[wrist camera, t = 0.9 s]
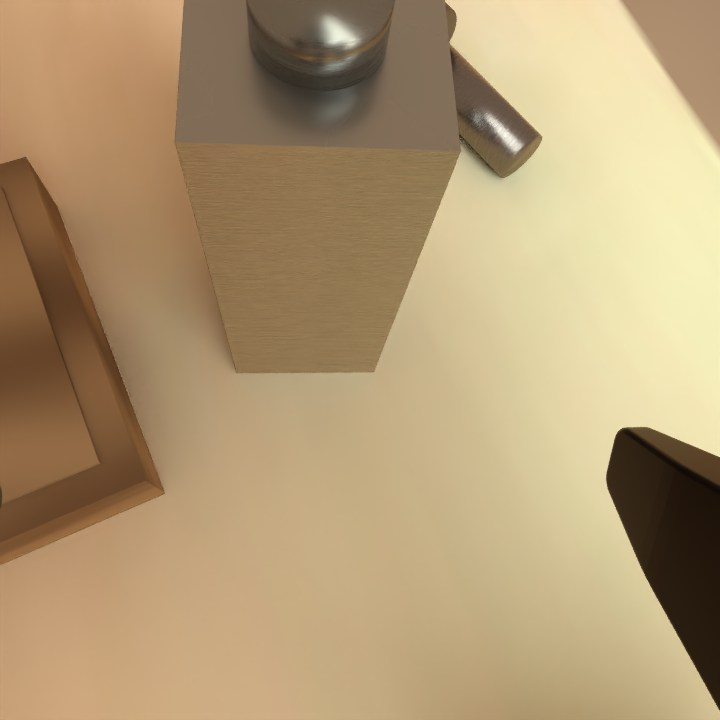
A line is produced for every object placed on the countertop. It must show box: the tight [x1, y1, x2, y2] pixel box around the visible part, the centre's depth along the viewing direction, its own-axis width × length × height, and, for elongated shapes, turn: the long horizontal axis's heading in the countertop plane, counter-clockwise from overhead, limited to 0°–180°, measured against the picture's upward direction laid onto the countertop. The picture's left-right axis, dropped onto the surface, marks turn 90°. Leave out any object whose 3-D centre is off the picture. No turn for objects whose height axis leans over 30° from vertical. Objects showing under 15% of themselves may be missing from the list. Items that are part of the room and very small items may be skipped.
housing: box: [175, 0, 461, 373], centre depth 18 cm, size 5×5×14 cm
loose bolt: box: [445, 2, 542, 178], centre depth 26 cm, size 7×3×3 cm, turn 39°
